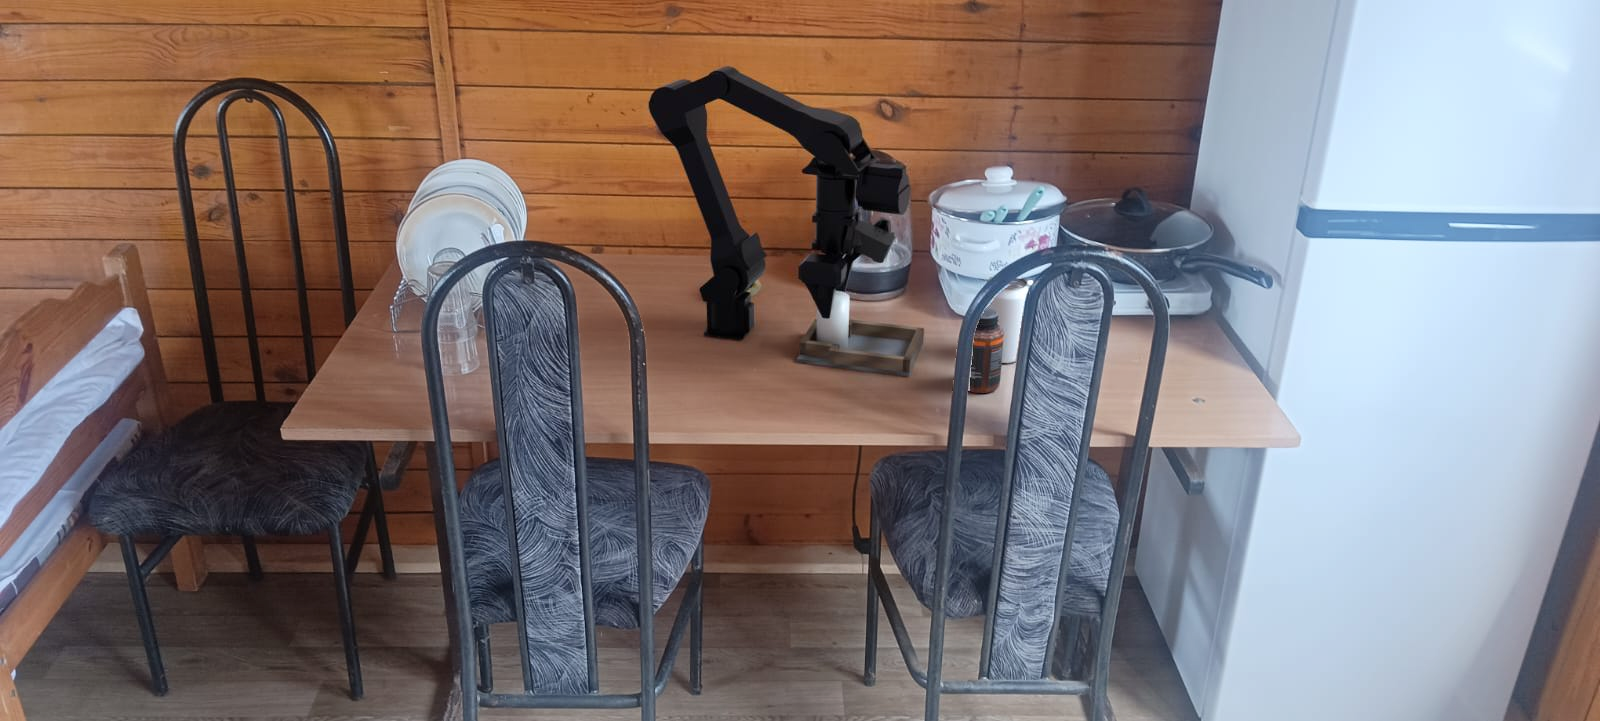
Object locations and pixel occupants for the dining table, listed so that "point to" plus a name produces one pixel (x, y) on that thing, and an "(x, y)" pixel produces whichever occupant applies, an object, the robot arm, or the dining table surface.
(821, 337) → the peg
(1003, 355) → the can
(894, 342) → the tray
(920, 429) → the dining table surface
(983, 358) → the supplement bottle
